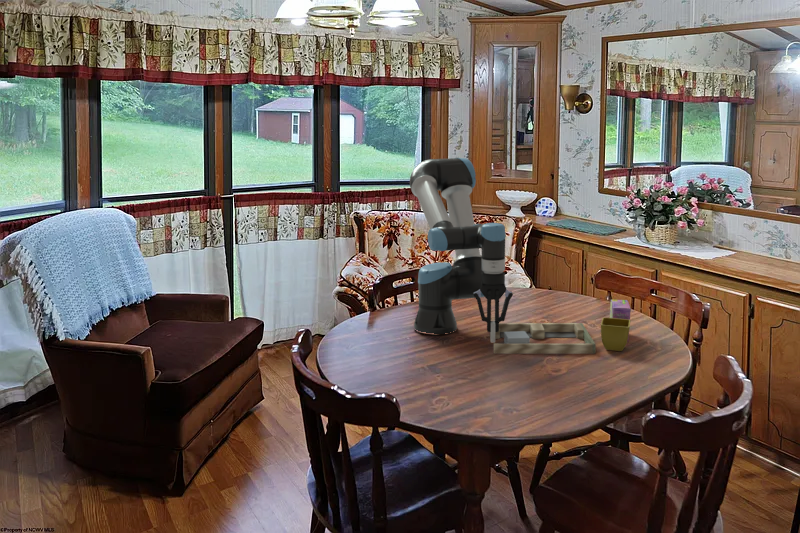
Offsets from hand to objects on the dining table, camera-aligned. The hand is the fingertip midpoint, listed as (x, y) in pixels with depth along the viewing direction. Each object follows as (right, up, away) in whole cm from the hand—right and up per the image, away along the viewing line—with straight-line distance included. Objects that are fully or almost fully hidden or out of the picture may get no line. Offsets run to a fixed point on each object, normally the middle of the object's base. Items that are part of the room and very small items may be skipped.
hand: (492, 341), depth 244 cm
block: (+8, -2, 0) cm, 8 cm away
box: (+43, 0, +6) cm, 44 cm away
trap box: (+16, -1, +3) cm, 16 cm away
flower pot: (+39, -2, -5) cm, 39 cm away
